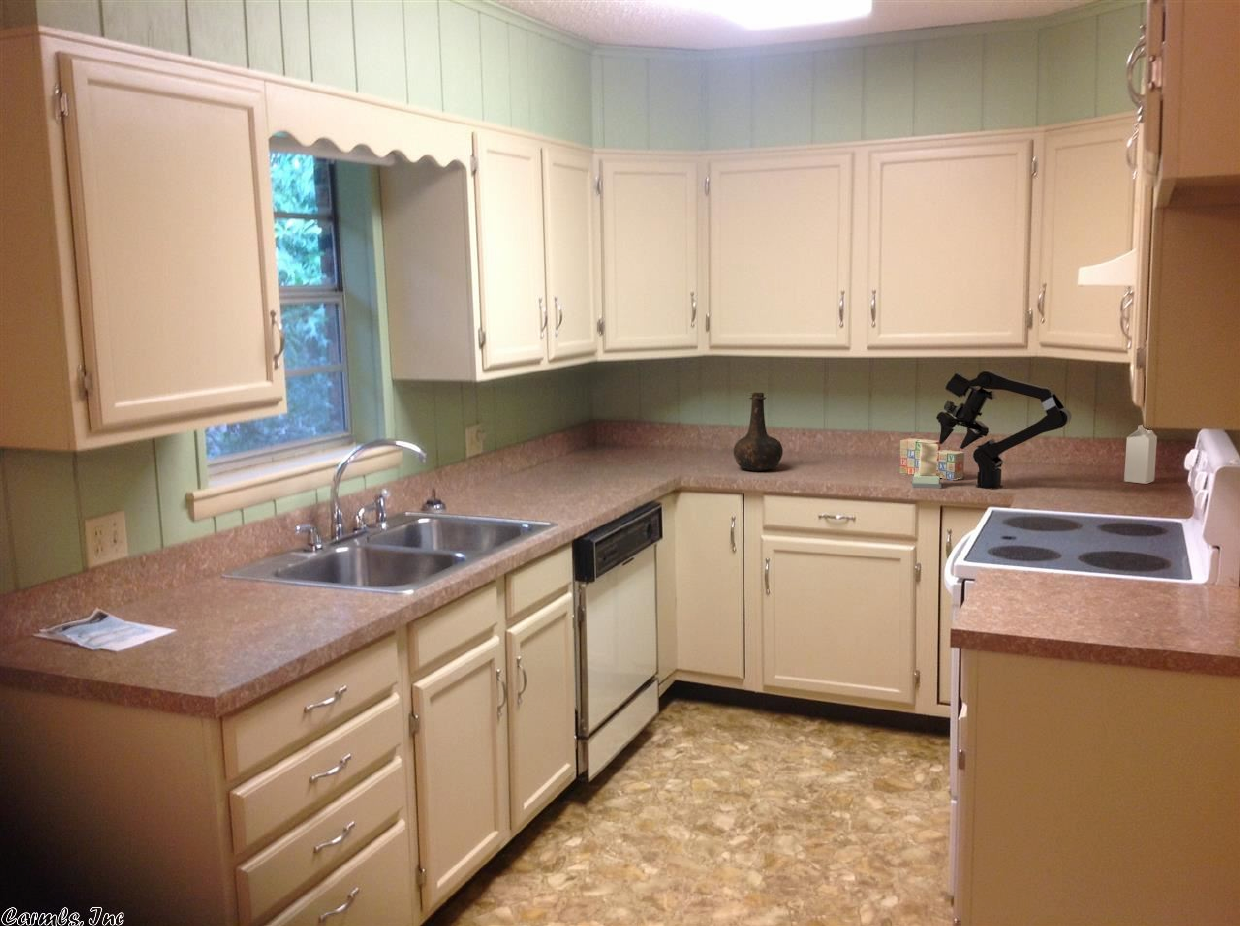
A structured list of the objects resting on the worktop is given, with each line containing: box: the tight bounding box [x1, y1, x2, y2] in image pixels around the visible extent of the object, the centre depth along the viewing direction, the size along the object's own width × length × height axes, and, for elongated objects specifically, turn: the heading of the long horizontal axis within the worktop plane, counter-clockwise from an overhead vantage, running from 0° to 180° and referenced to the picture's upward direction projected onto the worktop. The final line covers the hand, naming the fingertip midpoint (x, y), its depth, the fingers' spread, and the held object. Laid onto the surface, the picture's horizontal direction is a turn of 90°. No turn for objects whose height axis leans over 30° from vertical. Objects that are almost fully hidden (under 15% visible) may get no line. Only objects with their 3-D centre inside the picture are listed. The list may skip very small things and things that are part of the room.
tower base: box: [910, 478, 942, 490], centre depth 357 cm, size 9×9×2 cm
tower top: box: [912, 472, 941, 484], centre depth 356 cm, size 8×8×2 cm
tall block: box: [919, 443, 938, 476], centre depth 355 cm, size 5×5×10 cm
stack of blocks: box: [899, 437, 965, 479], centre depth 373 cm, size 21×6×12 cm, turn 44°
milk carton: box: [1123, 424, 1158, 485], centre depth 356 cm, size 7×7×19 cm
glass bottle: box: [733, 392, 784, 472], centre depth 391 cm, size 18×18×28 cm
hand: (950, 446), depth 357 cm, fingers open, 9 cm apart
